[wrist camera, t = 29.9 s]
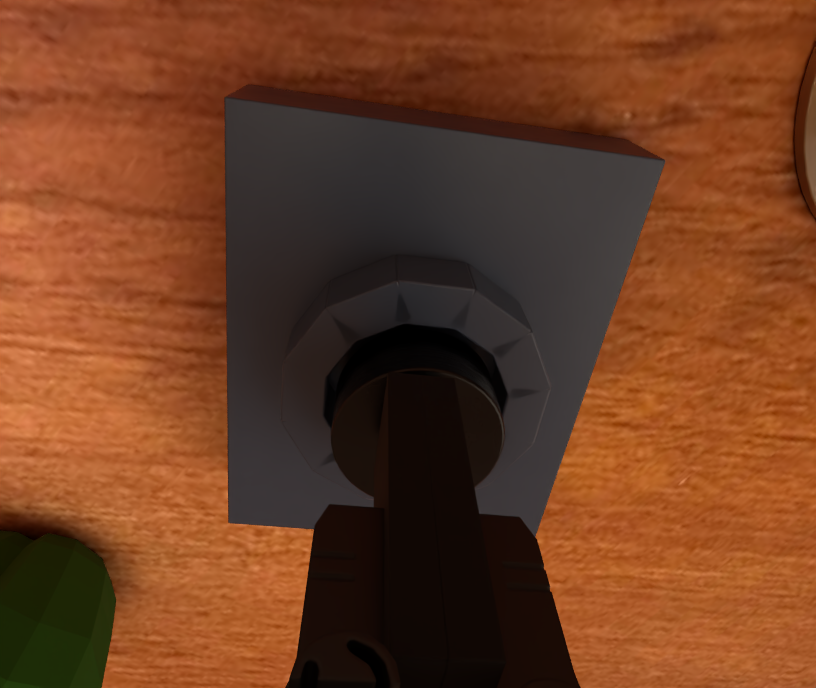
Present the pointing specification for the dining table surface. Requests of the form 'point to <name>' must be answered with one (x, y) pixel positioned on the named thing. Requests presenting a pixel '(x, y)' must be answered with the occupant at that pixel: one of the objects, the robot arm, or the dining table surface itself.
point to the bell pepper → (53, 613)
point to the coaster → (807, 135)
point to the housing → (412, 278)
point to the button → (418, 356)
